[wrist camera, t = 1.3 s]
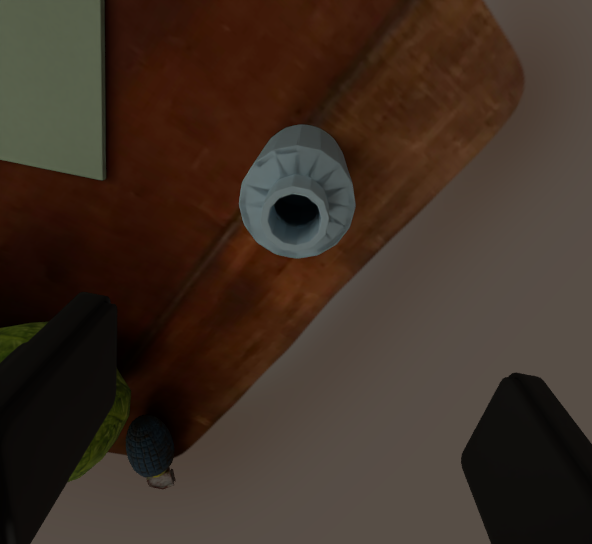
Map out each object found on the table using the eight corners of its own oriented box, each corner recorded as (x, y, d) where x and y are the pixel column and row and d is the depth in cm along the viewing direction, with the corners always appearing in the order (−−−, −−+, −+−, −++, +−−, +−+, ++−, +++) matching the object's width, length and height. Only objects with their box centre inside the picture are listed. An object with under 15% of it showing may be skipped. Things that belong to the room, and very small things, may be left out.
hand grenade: (160, 396, 43) (178, 458, 48) (115, 412, 41) (139, 474, 46) (168, 428, 39) (186, 491, 44) (118, 446, 38) (143, 509, 43)
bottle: (268, 116, 30) (240, 141, 19) (353, 134, 30) (374, 170, 19) (254, 200, 33) (224, 263, 22) (333, 216, 33) (341, 287, 22)
